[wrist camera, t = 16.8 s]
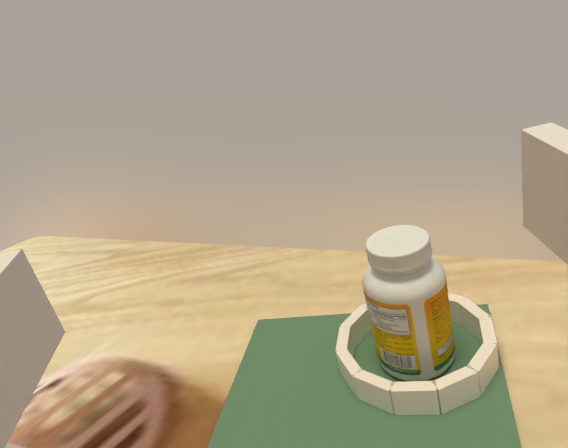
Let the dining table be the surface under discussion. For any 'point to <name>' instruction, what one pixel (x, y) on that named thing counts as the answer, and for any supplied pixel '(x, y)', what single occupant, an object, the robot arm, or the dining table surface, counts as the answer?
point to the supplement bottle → (408, 304)
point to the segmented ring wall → (421, 393)
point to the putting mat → (345, 396)
